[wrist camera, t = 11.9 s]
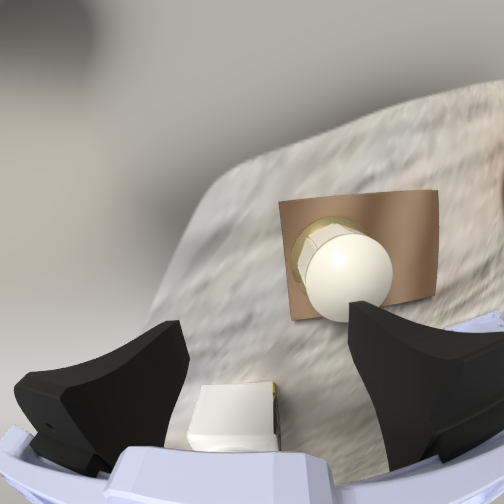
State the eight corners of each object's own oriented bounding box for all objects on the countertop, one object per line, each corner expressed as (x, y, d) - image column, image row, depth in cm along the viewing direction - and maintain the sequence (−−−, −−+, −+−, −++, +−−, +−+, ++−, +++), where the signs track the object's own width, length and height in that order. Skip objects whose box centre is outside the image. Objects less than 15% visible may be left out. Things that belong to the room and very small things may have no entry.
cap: (353, 303, 20) (370, 330, 16) (287, 285, 20) (293, 310, 16) (380, 237, 19) (405, 251, 15) (313, 213, 18) (325, 221, 14)
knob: (371, 212, 19) (390, 217, 16) (373, 293, 20) (388, 311, 17) (285, 221, 19) (289, 228, 16) (294, 305, 21) (298, 325, 18)
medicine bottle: (280, 424, 26) (283, 517, 14) (216, 427, 26) (199, 516, 15) (274, 379, 24) (276, 488, 12) (201, 383, 24) (170, 483, 13)
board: (430, 189, 19) (438, 190, 18) (428, 290, 21) (435, 295, 20) (278, 201, 20) (279, 202, 19) (290, 313, 22) (291, 320, 21)
